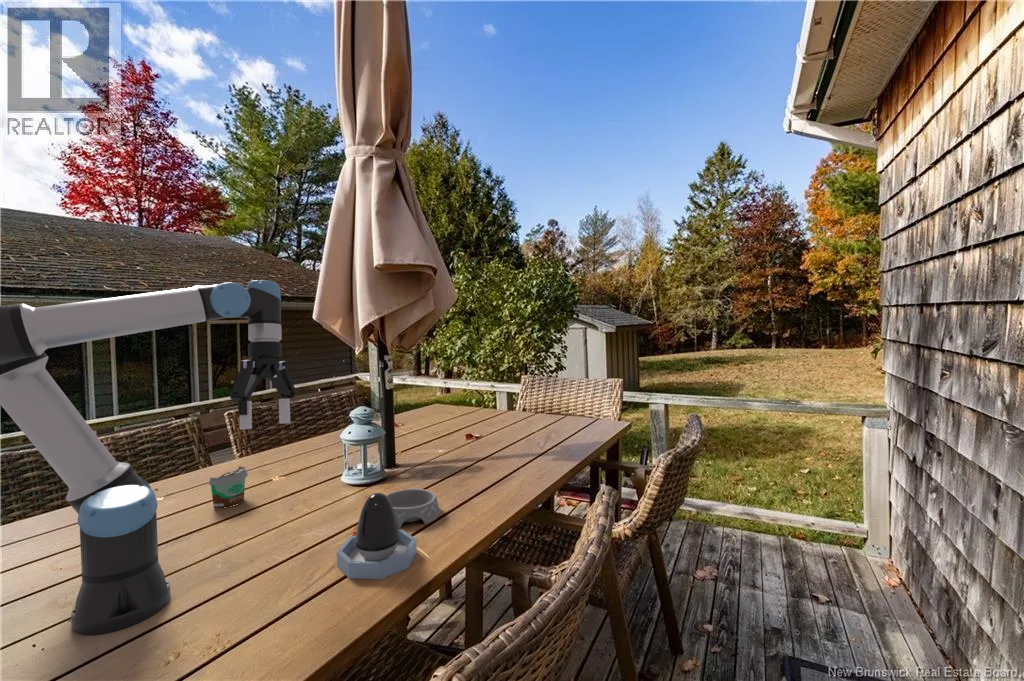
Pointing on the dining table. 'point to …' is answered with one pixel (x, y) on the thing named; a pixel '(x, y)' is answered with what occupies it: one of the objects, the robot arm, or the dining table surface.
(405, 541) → the bowl
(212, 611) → the dining table surface
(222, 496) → the food container
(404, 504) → the dog bowl
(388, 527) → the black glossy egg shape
